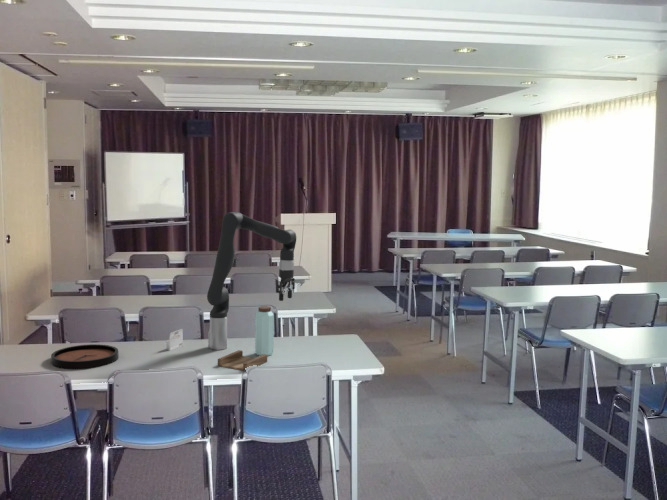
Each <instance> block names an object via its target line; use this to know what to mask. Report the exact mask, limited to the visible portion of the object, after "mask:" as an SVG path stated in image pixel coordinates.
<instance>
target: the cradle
mask: <svg viewBox="0 0 667 500" xmlns="http://www.w3.org/2000/svg"><path fill="white" fill-rule="evenodd" d="M243 353H244V352H243V350H239V349H237V350H236V351H234V352H231V353H229V354H227V355H224V356H221V357H219V358H217V366H218V367H223V368H228V369H235V370H238V371H239V370H240V371H244V370H245V368H247V367H249V366H253V365H259V366H261V365H263V364H265V363H267V362H268V356H267V355H265V354H263V355H261V356H259V355H257V356H256V357H252V356H245V355H244V354H243Z"/></svg>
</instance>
